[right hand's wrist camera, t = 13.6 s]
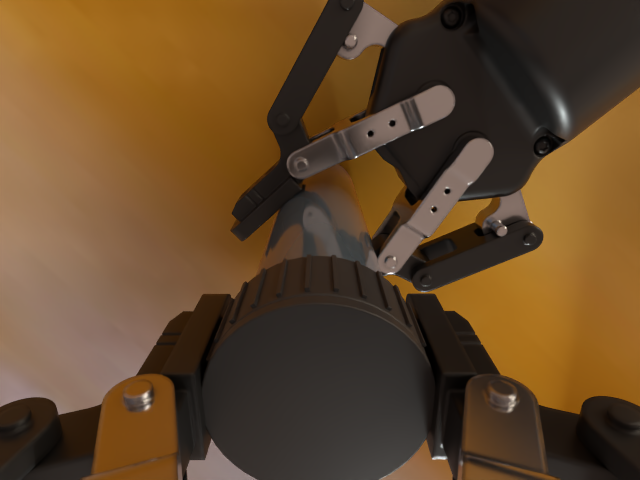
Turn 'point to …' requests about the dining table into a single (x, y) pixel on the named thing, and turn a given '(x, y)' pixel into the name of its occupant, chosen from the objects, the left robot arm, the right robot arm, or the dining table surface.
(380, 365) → the lid
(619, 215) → the dining table surface
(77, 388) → the dining table surface
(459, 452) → the right robot arm
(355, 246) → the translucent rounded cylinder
